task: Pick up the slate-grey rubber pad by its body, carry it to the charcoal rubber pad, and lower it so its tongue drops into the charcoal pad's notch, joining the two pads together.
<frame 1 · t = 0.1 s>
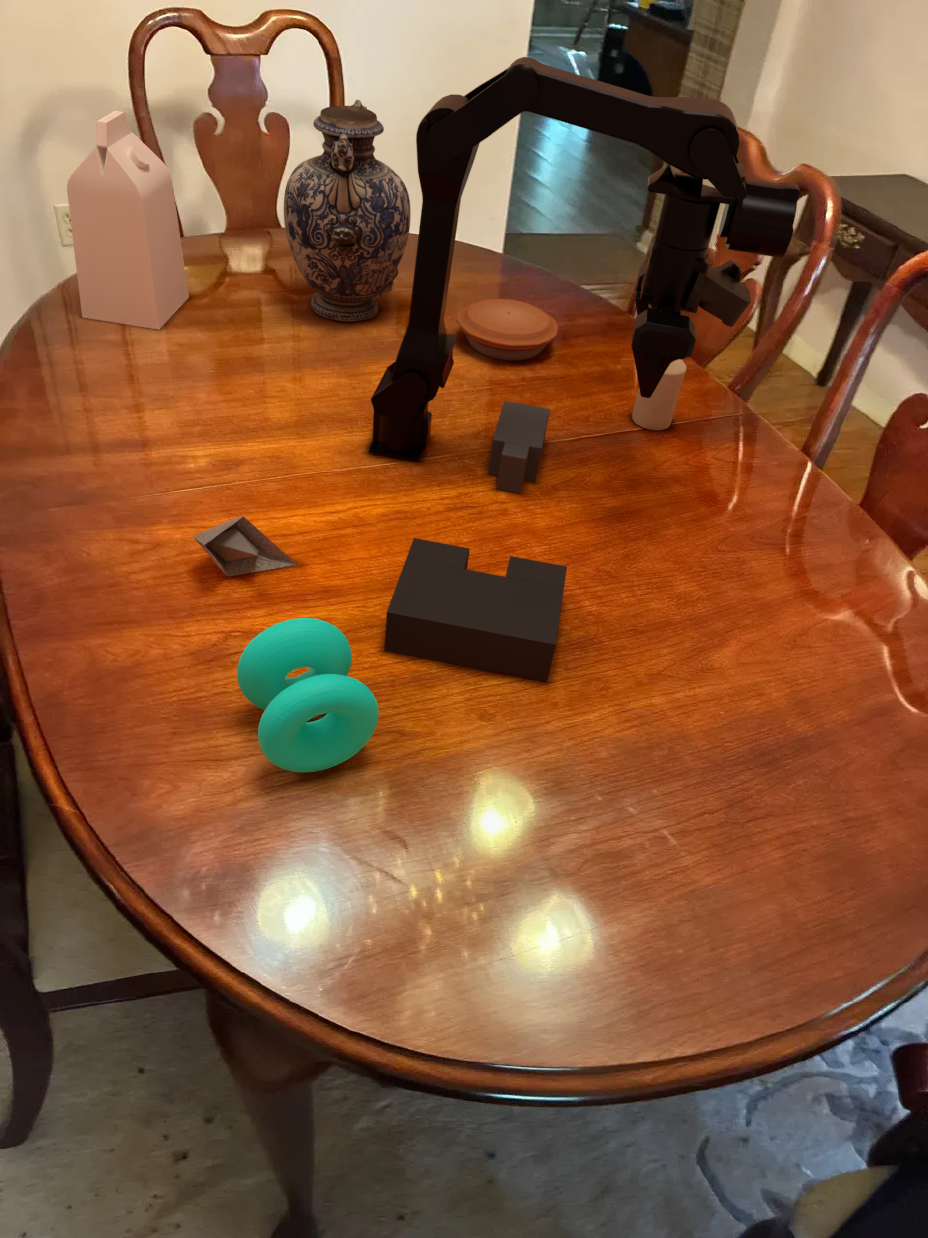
hand: (646, 378, 106), 15 cm above the table, tool pointing down, fingers open, 9 cm apart
decorative vase: (345, 309, 146), on the table
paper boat: (240, 575, 96), on the table
candle: (650, 421, 129), on the table
pie: (504, 345, 142), on the table
donuts: (307, 735, 81), on the table
tongue pad: (516, 457, 118), on the table
milk: (137, 308, 139), on the table
notch pad: (475, 625, 93), on the table
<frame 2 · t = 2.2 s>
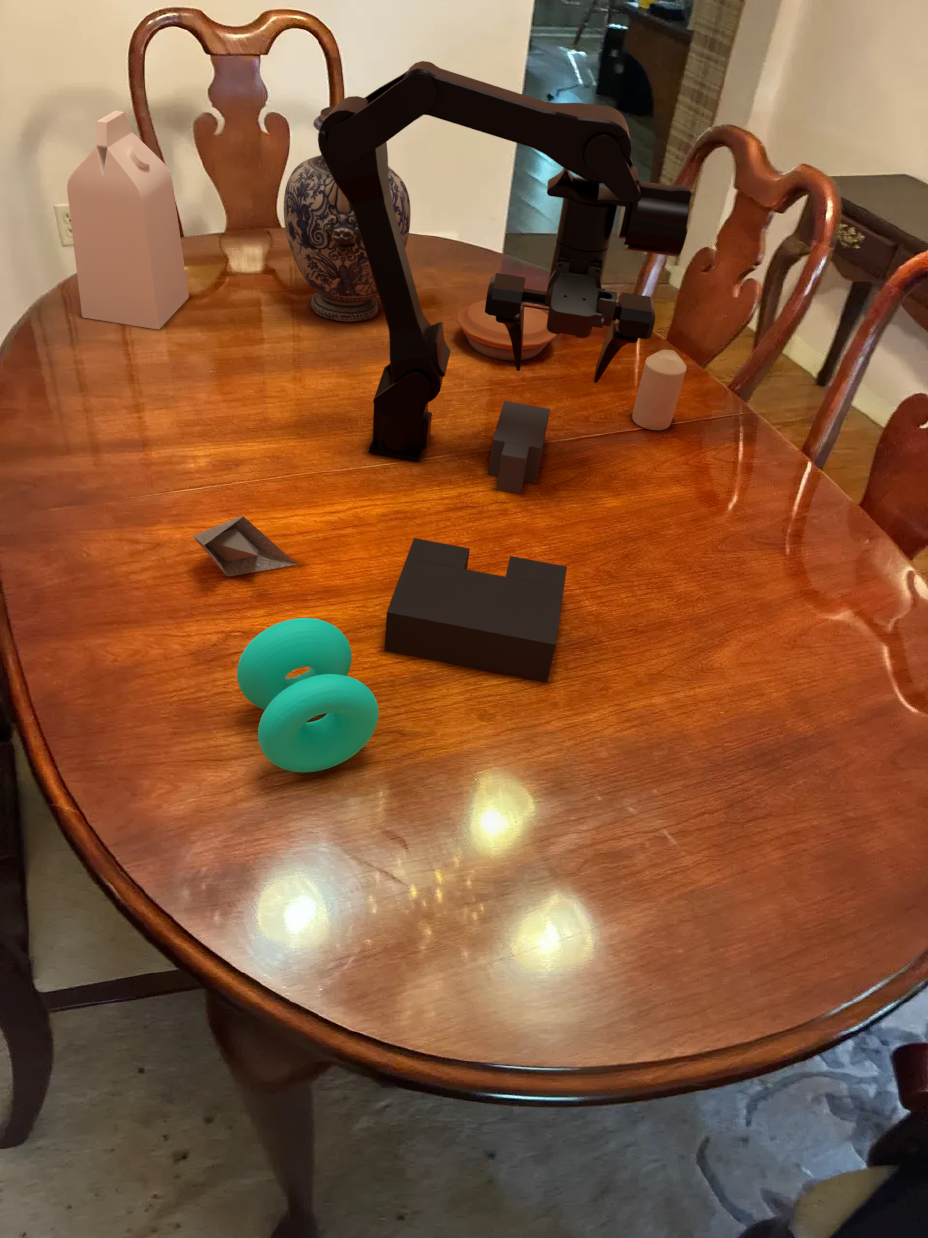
hand: (556, 375, 109), 12 cm above the table, tool pointing down, fingers open, 9 cm apart
nothing on the table moved.
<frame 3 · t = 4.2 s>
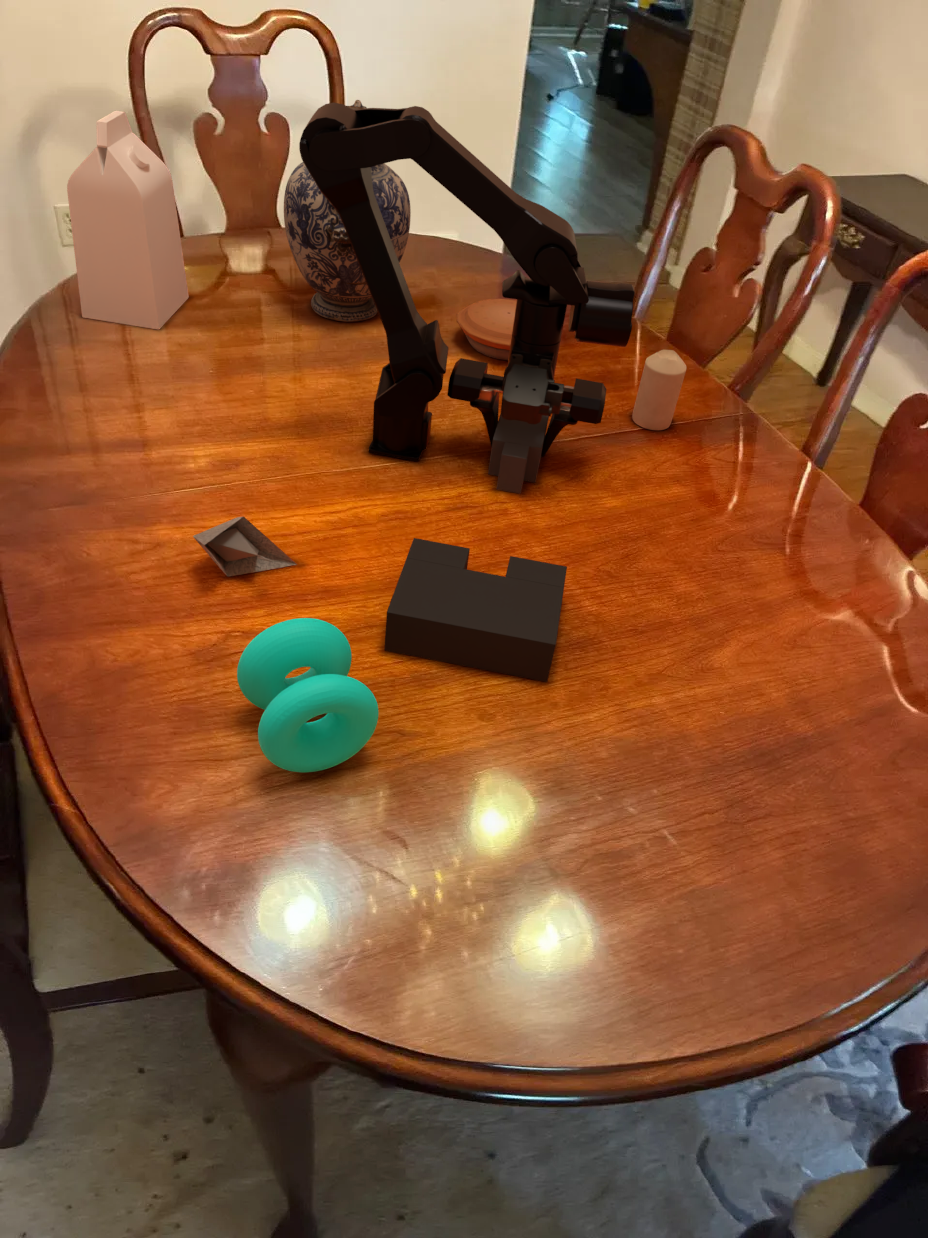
hand: (517, 451, 117), 1 cm above the table, tool pointing down, fingers closed on tongue pad, 6 cm apart
tongue pad: (516, 457, 118), on the table, touching gripper
everything else where it was.
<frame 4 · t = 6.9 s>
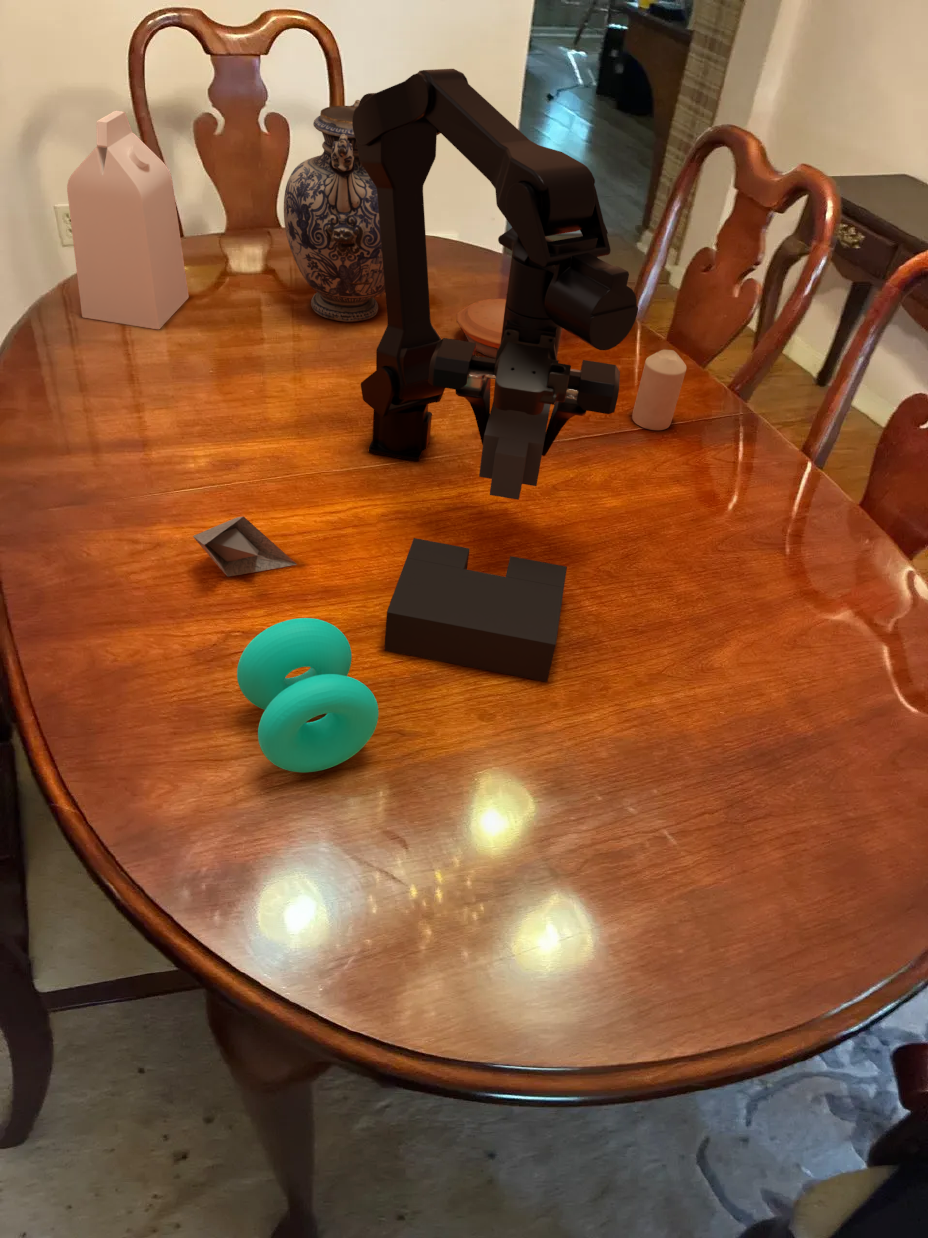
hand: (513, 448, 98), 11 cm above the table, tool pointing down, fingers closed on tongue pad, 6 cm apart
tongue pad: (512, 456, 99), point 10 cm above the table, touching gripper
everything else where it was.
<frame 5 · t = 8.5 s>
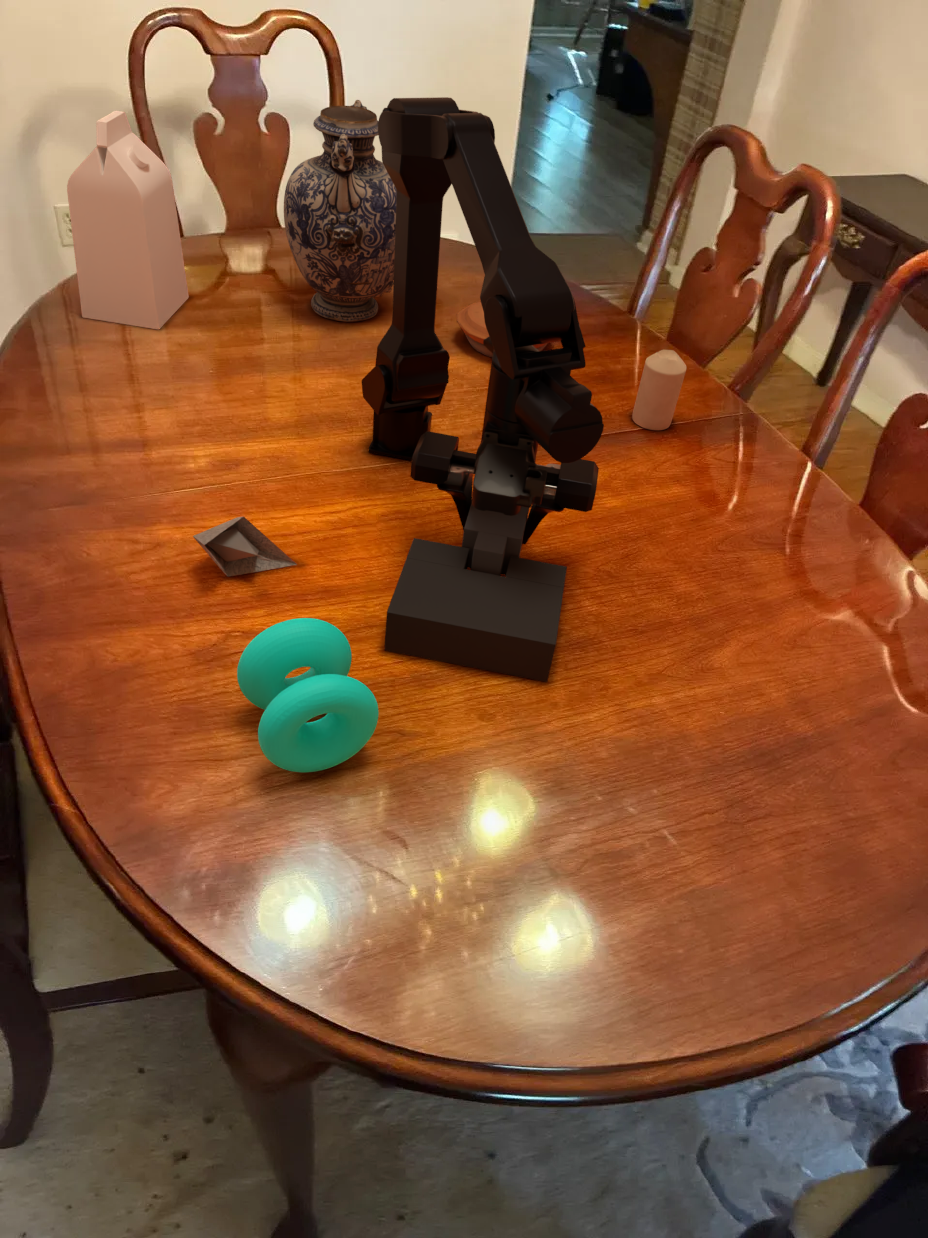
hand: (494, 536, 100), 3 cm above the table, tool pointing down, fingers closed on tongue pad, 6 cm apart
tongue pad: (494, 544, 101), point 2 cm above the table, touching gripper
everything else where it was.
when the fingers open (1 cm above the table, at t = 9.6 s): tongue pad stays where it is, on the table.
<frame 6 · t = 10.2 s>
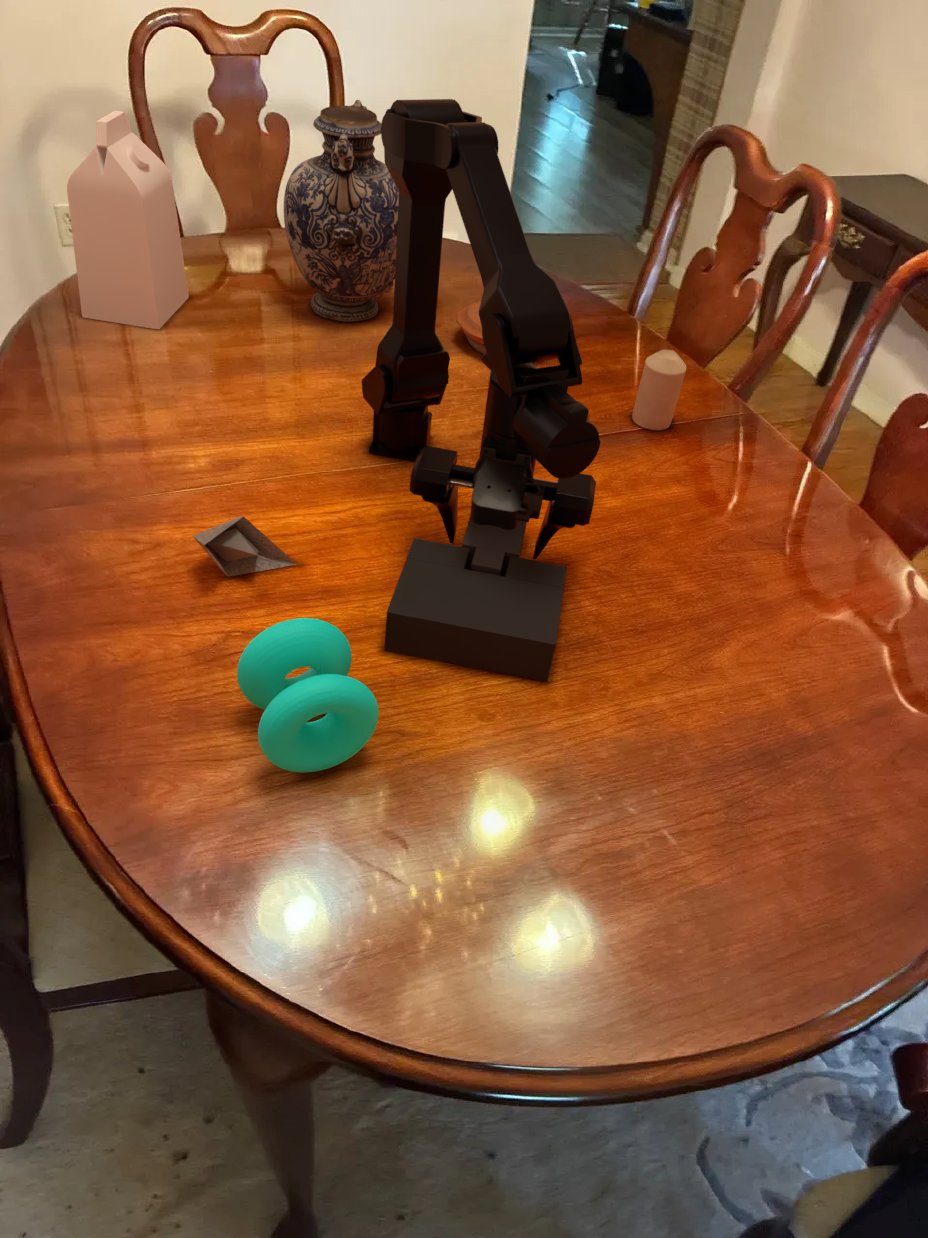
hand: (493, 549, 101), 1 cm above the table, tool pointing down, fingers open, 9 cm apart
tongue pad: (491, 558, 102), on the table
everything else where it was.
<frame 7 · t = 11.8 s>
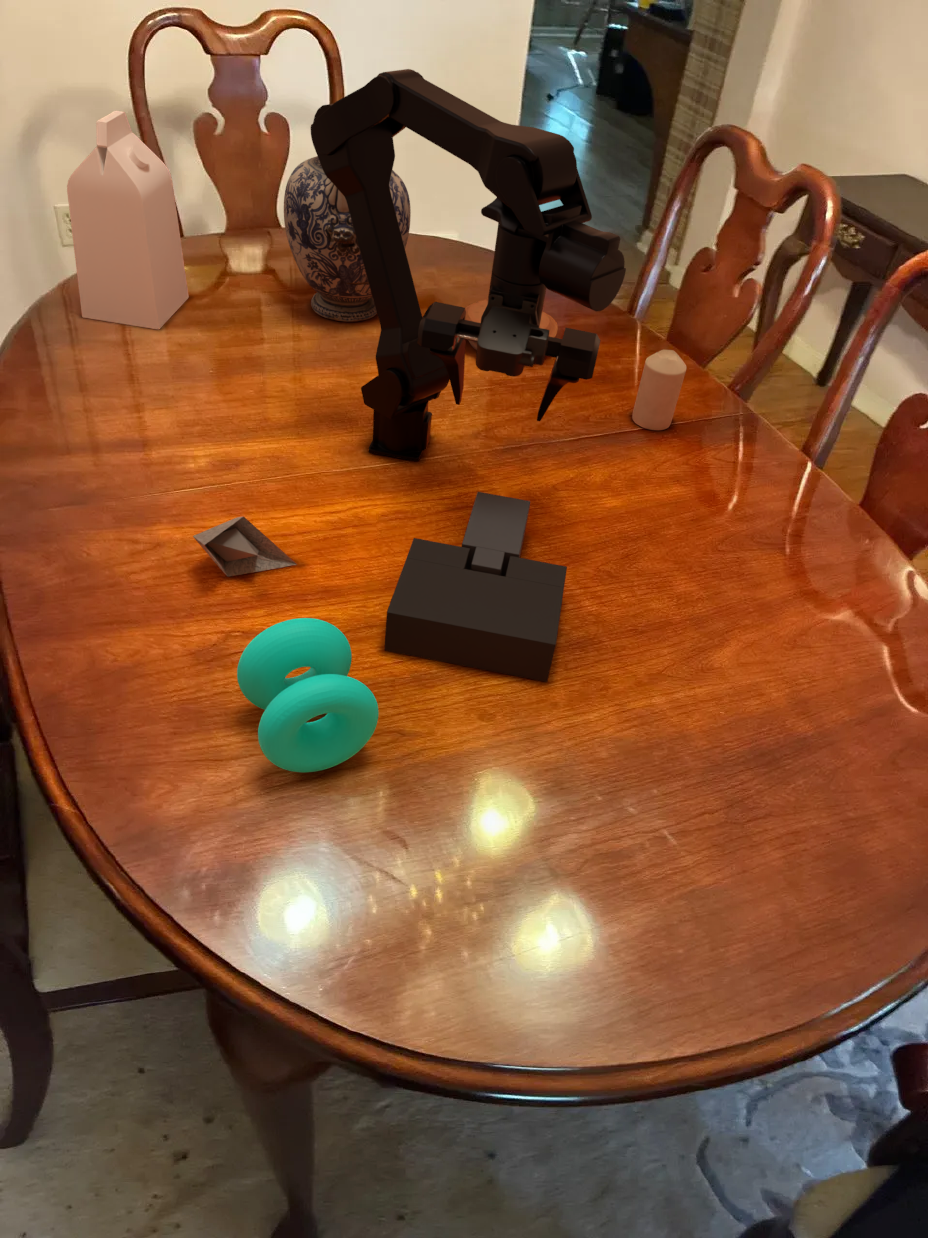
hand: (498, 411, 103), 12 cm above the table, tool pointing down, fingers open, 9 cm apart
nothing on the table moved.
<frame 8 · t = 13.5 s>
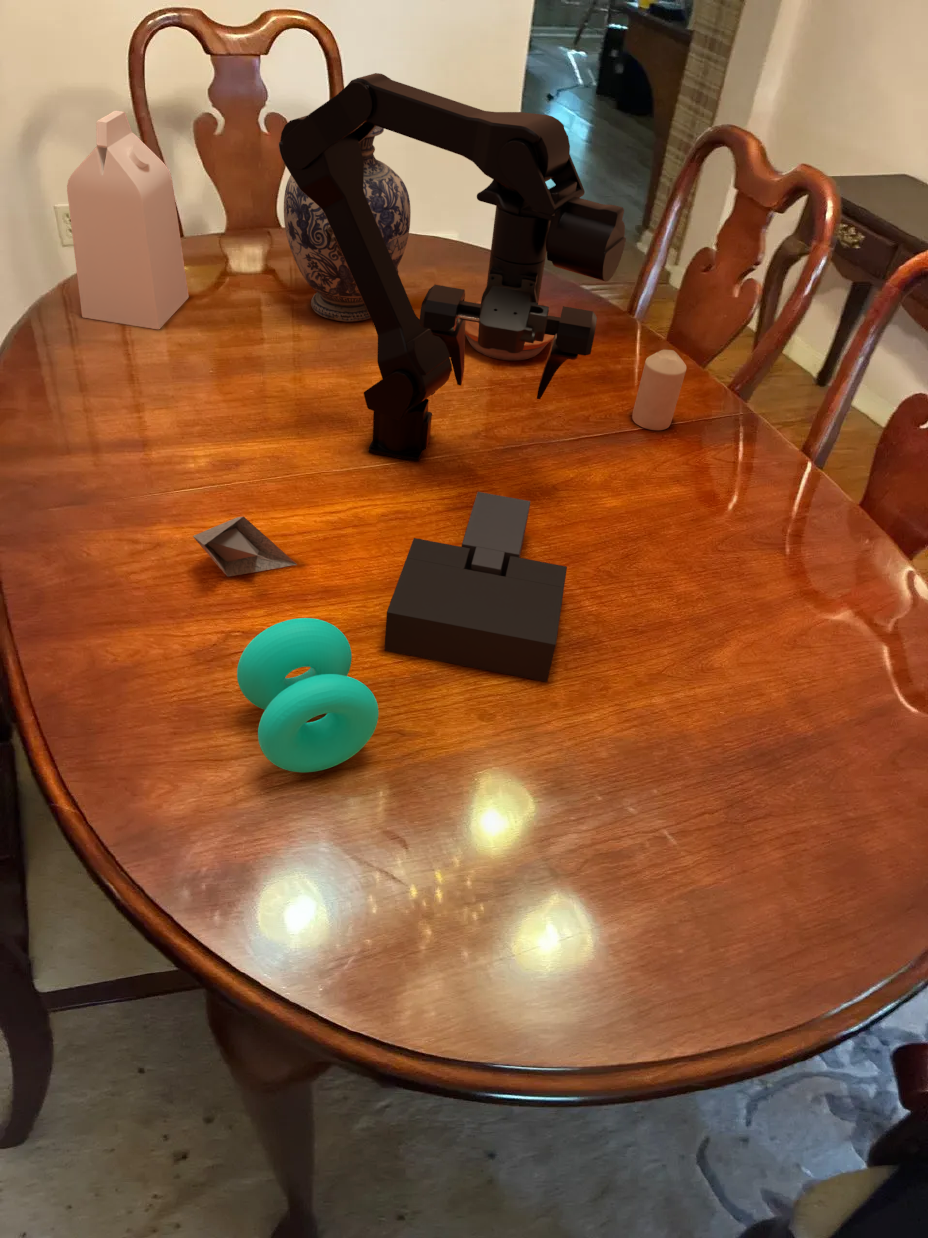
hand: (499, 390, 106), 12 cm above the table, tool pointing down, fingers open, 9 cm apart
nothing on the table moved.
at the end: tongue pad 0.1 cm from the target spot on the table beside the notch pad, on the table; tongue pad tilted 0°; the gripper is holding nothing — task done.
